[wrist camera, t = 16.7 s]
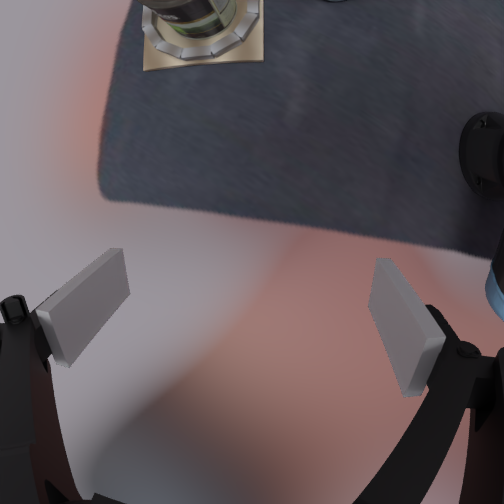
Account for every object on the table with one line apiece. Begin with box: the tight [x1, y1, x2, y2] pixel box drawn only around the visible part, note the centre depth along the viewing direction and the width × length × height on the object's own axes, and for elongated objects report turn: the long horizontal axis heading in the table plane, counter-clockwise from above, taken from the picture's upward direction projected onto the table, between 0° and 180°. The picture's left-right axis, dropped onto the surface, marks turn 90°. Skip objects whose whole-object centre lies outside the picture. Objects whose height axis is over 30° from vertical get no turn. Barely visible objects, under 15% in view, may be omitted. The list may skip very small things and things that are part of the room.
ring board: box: [142, 0, 264, 72], centre depth 34 cm, size 18×18×4 cm
